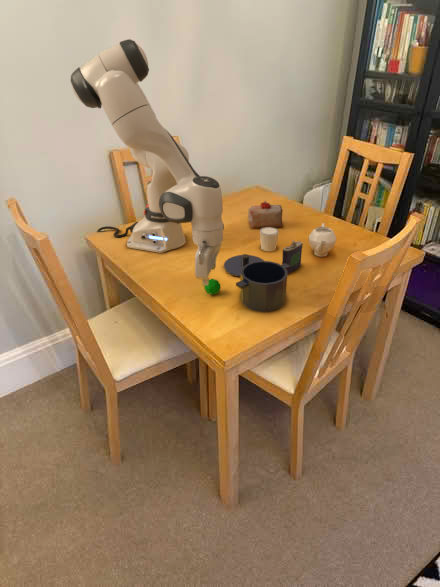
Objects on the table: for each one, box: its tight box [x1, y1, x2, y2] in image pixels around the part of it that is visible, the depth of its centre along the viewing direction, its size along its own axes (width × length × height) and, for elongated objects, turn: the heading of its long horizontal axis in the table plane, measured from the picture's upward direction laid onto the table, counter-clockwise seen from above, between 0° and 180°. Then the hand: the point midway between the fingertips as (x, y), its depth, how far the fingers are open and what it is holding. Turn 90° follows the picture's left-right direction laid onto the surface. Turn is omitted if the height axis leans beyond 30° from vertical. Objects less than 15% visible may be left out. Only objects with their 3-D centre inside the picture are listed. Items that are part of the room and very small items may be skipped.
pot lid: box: [223, 253, 265, 278], centre depth 143 cm, size 15×15×5 cm
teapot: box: [308, 222, 337, 257], centre depth 149 cm, size 10×20×9 cm, turn 168°
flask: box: [281, 240, 303, 276], centre depth 140 cm, size 9×3×11 cm, turn 134°
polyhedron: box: [203, 278, 222, 295], centre depth 130 cm, size 5×5×5 cm
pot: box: [235, 260, 291, 313], centre depth 126 cm, size 14×19×10 cm
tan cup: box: [259, 227, 280, 252], centre depth 155 cm, size 7×7×7 cm
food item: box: [247, 200, 284, 229], centre depth 171 cm, size 14×8×10 cm, turn 91°
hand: (209, 276), depth 128 cm, fingers open, 8 cm apart
